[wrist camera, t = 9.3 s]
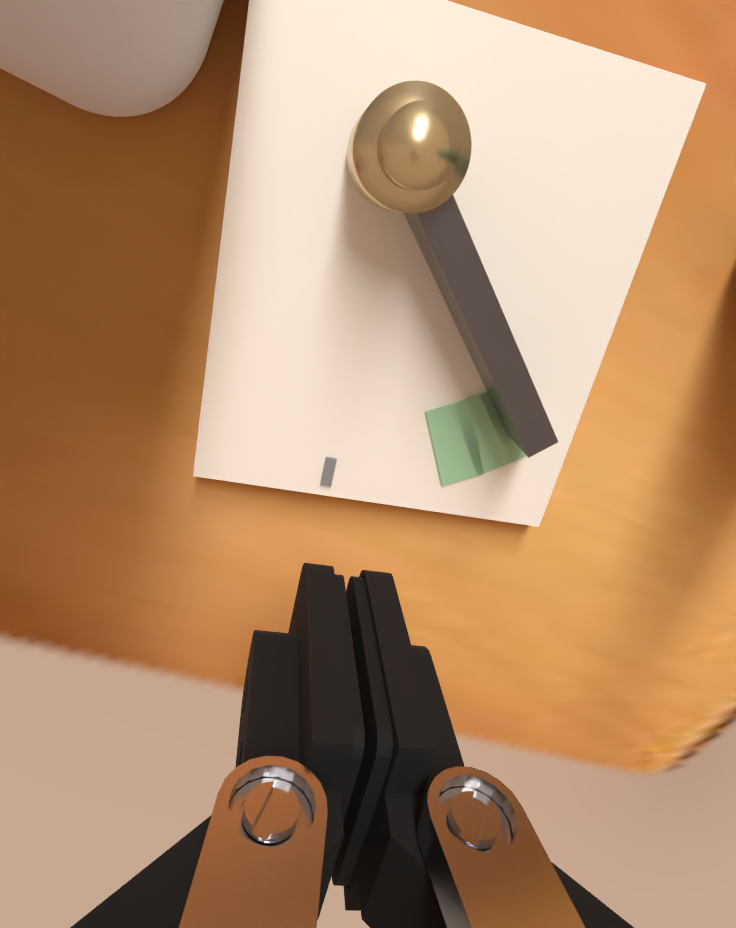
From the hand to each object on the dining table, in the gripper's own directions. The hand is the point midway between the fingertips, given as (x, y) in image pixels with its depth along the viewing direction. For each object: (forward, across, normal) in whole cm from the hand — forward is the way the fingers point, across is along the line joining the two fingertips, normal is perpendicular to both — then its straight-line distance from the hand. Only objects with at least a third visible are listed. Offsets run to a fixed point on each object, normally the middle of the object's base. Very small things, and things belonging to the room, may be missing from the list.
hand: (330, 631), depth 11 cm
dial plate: (+22, -5, -4) cm, 23 cm away
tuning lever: (+20, -6, -5) cm, 21 cm away
